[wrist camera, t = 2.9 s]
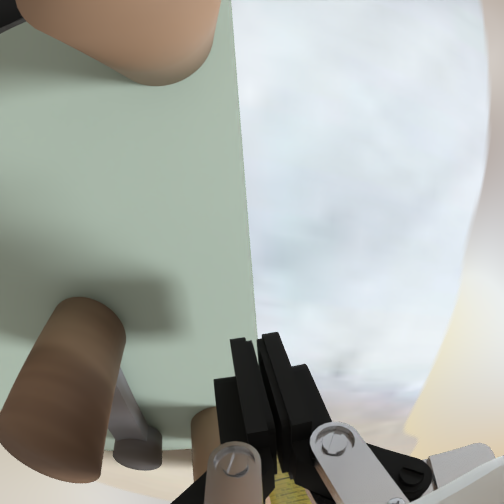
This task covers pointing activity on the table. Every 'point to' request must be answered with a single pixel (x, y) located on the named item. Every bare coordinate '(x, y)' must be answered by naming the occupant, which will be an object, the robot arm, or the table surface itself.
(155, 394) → the stool seat
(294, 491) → the sauce bottle
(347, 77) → the table surface
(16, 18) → the phone
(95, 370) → the folding leg
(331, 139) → the table surface
